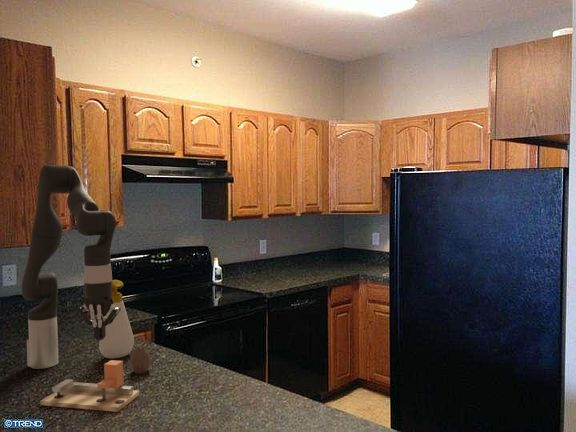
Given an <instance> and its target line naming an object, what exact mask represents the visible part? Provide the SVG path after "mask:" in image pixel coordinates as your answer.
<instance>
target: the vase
mask: <svg viewBox="0 0 576 432" xmlns="http://www.w3.org/2000/svg"><path fill="white" fill-rule="evenodd" d="M129 364H130V365H129V366H130V369H131V371H132V372H134V373H135V374H145V373H146V372H147V371H148V370H150V367H151V365H152V356H151V355H150V352H149V351H148V350H147V349H146V347H145V345H142V344H141V345H137V346H136V347H135V349H134V351H133V352H132V354H131V356H130V360H129Z"/></svg>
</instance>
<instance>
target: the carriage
mask: <svg viewBox="0 0 576 432" xmlns="http://www.w3.org/2000/svg"><path fill="white" fill-rule="evenodd" d="M103 367H104V368H103V369H104V372H103V373H104V374H103V375H104V379H103V380H101V381H100V382H98V383H96V384H97V385H98V388H102V400H105V399H106V395H105V388H118V387H120V386H123V385H124V383H125V382H124V360H113V359H110V360H108V362H105V363H104V364H103Z"/></svg>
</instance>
